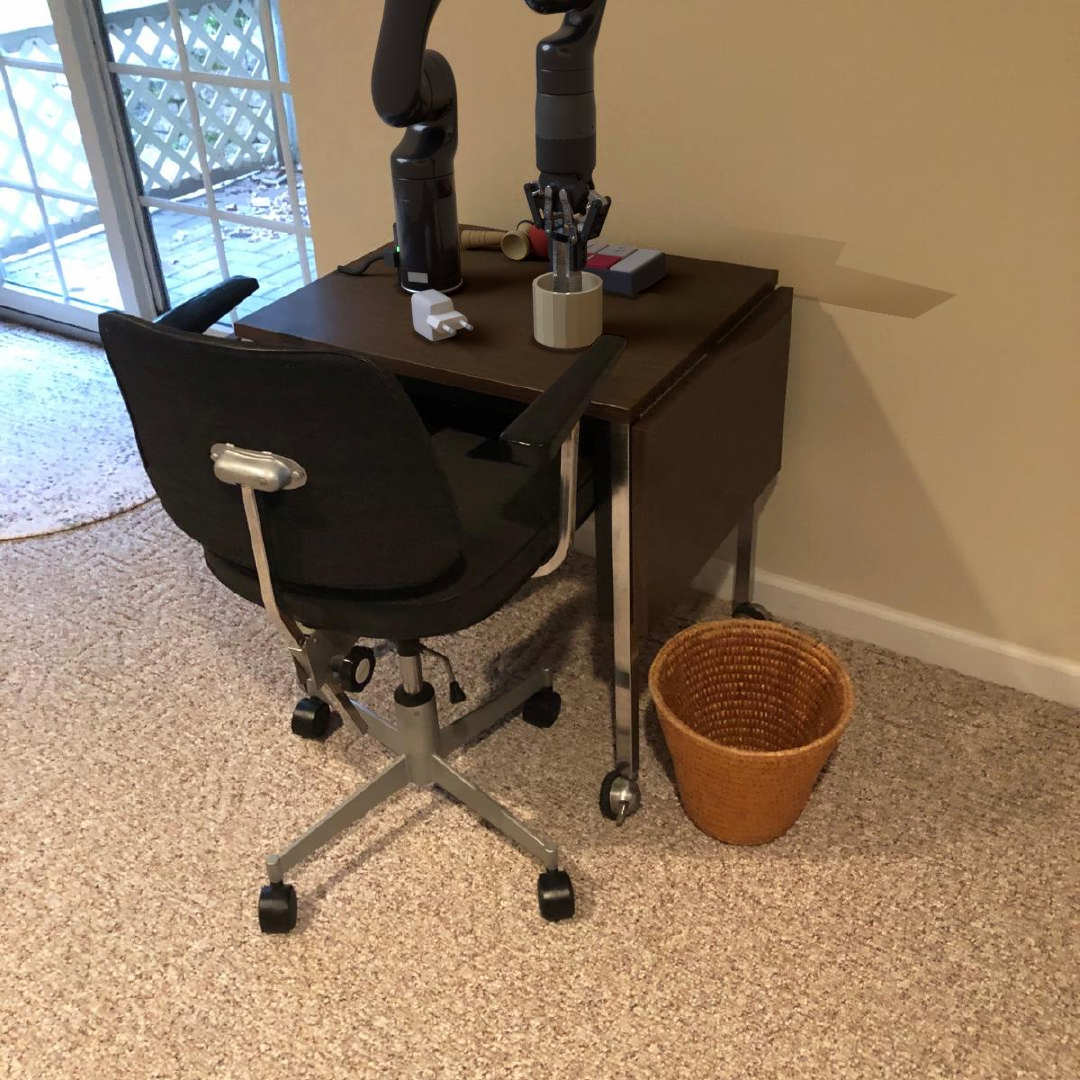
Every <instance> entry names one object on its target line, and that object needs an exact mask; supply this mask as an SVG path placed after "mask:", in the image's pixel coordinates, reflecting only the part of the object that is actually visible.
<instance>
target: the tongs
mask: <svg viewBox="0 0 1080 1080" xmlns="http://www.w3.org/2000/svg"><path fill="white" fill-rule="evenodd" d="M579 232H580V229H578V233H579ZM570 243H571V241H570V235H569V228H568V226H564V227H563V228H560V229H557V230H554V231H553V280H554V292H557V293H575V292H582V270H580V271H577V272H574V271H571V270H570Z"/></svg>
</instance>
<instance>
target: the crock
mask: <svg viewBox="0 0 1080 1080" xmlns="http://www.w3.org/2000/svg"><path fill="white" fill-rule="evenodd" d="M603 292H604V289H603V280H602V279H601V278H600V277H599V276H597V275H595V274H592V273H588V272H583V271H582V292H575V293H557V292H554V280H553V272H550V273H548V272H546V273H544V274H541V275H539V276H537V277H536V278H534V279H533V281H532V310H533V311H532V313H533V336H534V339H535V340H536V341H537V342H538V343H539V344H541V345H543V346H547V347H550V348H555V349H579V348H584V347H589V346H591V344H592V343H593V342H594V341H595V339H596V338H597V337H598V336H600V335H601V334H602V335H603V318H604V317H603V316H604V315H603V313H604V311H603V307H604V304H603V303H604V302H603V301H604V300H603V299H604V296H603V295H604V293H603ZM592 345H593V344H592Z"/></svg>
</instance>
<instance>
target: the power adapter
mask: <svg viewBox="0 0 1080 1080" xmlns="http://www.w3.org/2000/svg"><path fill="white" fill-rule="evenodd" d="M410 301H411V314H412V323H413V328H414V330H415V332H417V333H418V334H420V335H421V336H423V337H425V338H426V339H428V340H429V341H432V342H437V341H441V340H445V339H448V338H452V337H455V336H456V335H457V330H461V329H463V328H465V329H466V330H468V331H469V332H470V331H471V332H472V331H473V330H474V326H473V325H472V324H470V323H468V322H469V319H468V318H467V316H465V314H463V313H461V312H459V311H458V310H456V309H455V308H454V303H453V300H452V299H451V298H450V297H449V296H447V294H442V293H440V292H438V291H436V290H434V289H431V290H426V291H422V292H418V293H415V294H413V295H412V294H411V298H410Z"/></svg>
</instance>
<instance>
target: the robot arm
mask: <svg viewBox="0 0 1080 1080" xmlns="http://www.w3.org/2000/svg"><path fill="white" fill-rule="evenodd" d="M522 1H523V3H524V4H525V5H526V6H527V8H529V9H530V10H531V11H532V12H533V13H535V14H537V15H542V16H549V15H551V16H552V15H557V14H564V15H563V18H562V21H561V24H560V26H559V28H558V29H557V30H556V31H555V32H553V33H550V34H549V35H546V36H545V37H543V38H541V39H539V41H538V42H537V44H536V45H535V52H534V53H535V55H534V58H535V59H534V61H535V62H534V63H535V64H534V65H535V66H534V67H535V102H534V142H535V167H536V169H537V170H538V171H539V172H540V173H539V175H538V179H537V180H532V181H530V182H527V183H525V184H524V185H523V191H524V194H525V197H526V201H527V204H528V207H529V210H530V211H529V212H530V214H531V218H533V220H534V224H535V227H536V228H537V229H538V230H539V229H542V230H543V231H545V235H546V236H547V237H548V257H549V258H548V260H549V262H550V264H551V265H553V231H554V230H557V229H560V228H563V227H568V228H569V235H570V241H571V243H570V270H571V271H574V272H577V271H580V270H583V269H584V268H585V266H586V264H587V242H590V241H592V240H595V239H597V238H599V237H600V236H601V234H602V230H603V227H604V225H605V222H606V219H607V217H608V214H609V211H610V208H611V205H612V197H610V196H609V195H604V196H602V195H601V194H599V192H598V191H596V186H595V182H594V179H593V173H594V170H595V168H596V166H597V103H596V96H595V95H596V94H595V53H596V48H597V43H598V39H599V35H600V32H601V27H602V23H603V19H604V15H605V10H606V7H607V4H608V3H607V2H608V0H522ZM442 2H443V0H384V5H383V12H382V18H381V23H380V28H379V29H380V30H379V33H378V38H377V43H376V48H375V53H374V57H373V63H372V67H371V76H370V97H371V101H372V105H373V107H374V110H375V113H376V114H377V116H378V118H379V119H380V120H381V121H382V122H383V123H384V124H385V125H387V126H388V127H390V128H394V129H403V128H405V132H404V134H403V135H402V138H401V139H400V142H399V143H398V144H397V145H396V146H395V147H394V148H393V150H392V151H391V152H390V155H389V168H390V169H389V170H390V178H391V179H390V180H391V187H392V197H393V207H394V218H395V221H394V222H393V224H392V233H393V242H394V243H393V244H394V246H390V247H387V248H383V249H382V252H381V253H376V254H374V255H372V256H370V257H368V258H367V259H366V260H365V262H364V263H363V264H362V265H361V266H360V267H358V268H351V267H347V266H344V265H340V264H338V265H337V266H336V270H337V271H338V272H341V273H343V274H348V275H350V276H357V275H358V276H359V275H362V274H364V273H365V272H366V271H367V270H368V269H369V268H370V267H371V265H372V264H373V263H375V262H377V261H380V260H383V263H384V265H385V266H387V267H391V268H393V269H396V272H397V273H396V274H397V281H398V285H400V286H401V290H402V291H403V292H404V293H406V294H409V295H411V296H412V295H413V294H415V293H418V292H422V291H426V290H431V289H434V290H436V291H438V292H440V293H442V294H444V295H448V294H451V293H454V292H456V291H458V290H460V289H461V288H462V287H463V286H464V281H463V274H462V260H461V259H462V258H461V245H460V229H459V218H458V217H459V216H458V214H459V213H458V202H457V189H456V173H455V171H456V170H455V158H456V155H457V153H458V152H457V151H458V147H459V109H458V108H459V107H458V105H459V104H458V102H459V101H458V91H457V90H458V89H457V82H456V77H455V74H454V71H453V69H452V65H451V64H450V62H449V61H448V59H447V58H446V56H444V55H443V54H442V53H441V52H439V51H437V50H435V49H432V48H427V43H428V37H429V32H430V29H431V25H432V23H433V20H434V18H435V15H436V13H437V11H438V9H439V7H440V5H441V4H442ZM541 211H542V212H541ZM541 213H542V214H543V215H542V214H541ZM575 215H576V216H575ZM578 230H579V231H580V232H579V233H578Z"/></svg>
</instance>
